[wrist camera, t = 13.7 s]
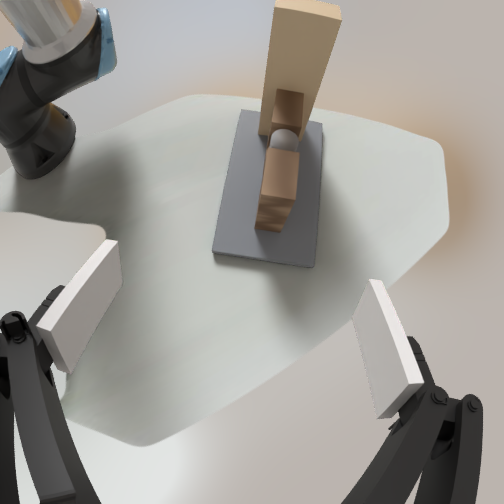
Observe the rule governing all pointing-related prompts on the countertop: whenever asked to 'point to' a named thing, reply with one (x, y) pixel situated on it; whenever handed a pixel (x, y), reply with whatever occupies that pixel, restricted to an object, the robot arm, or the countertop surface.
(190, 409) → the countertop surface
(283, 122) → the fixed leaf
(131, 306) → the countertop surface
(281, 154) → the brown wooden block
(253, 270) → the countertop surface
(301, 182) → the hinge frame
